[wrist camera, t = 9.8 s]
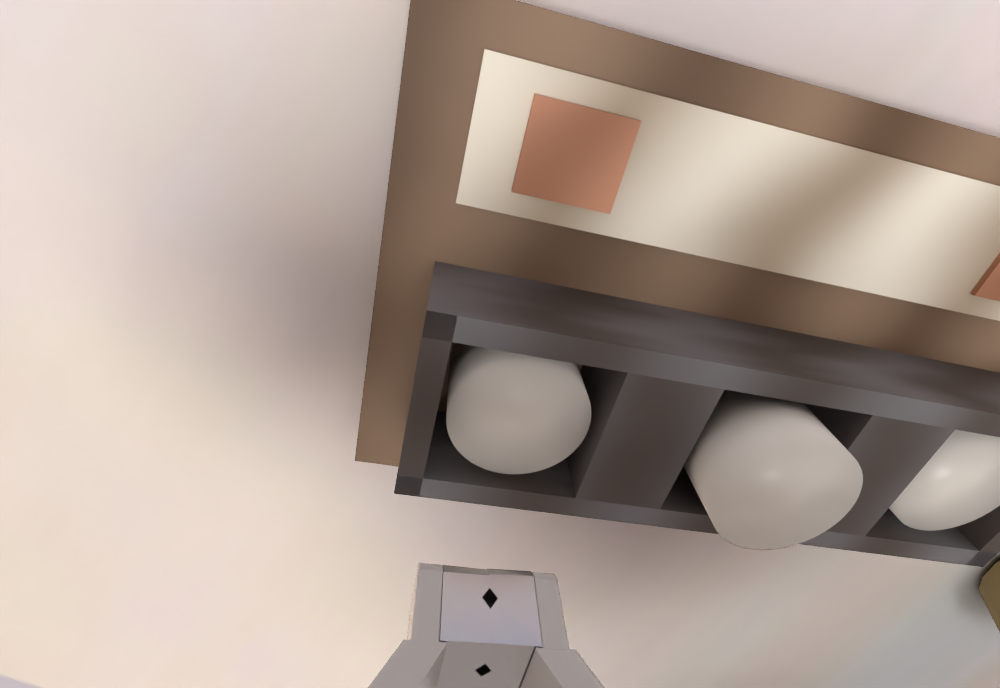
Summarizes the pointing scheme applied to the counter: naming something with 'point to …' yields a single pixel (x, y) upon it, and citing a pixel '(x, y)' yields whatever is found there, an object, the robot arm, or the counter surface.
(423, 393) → the button board
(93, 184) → the counter surface
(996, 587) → the squeeze bottle
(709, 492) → the button middle
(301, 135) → the counter surface
